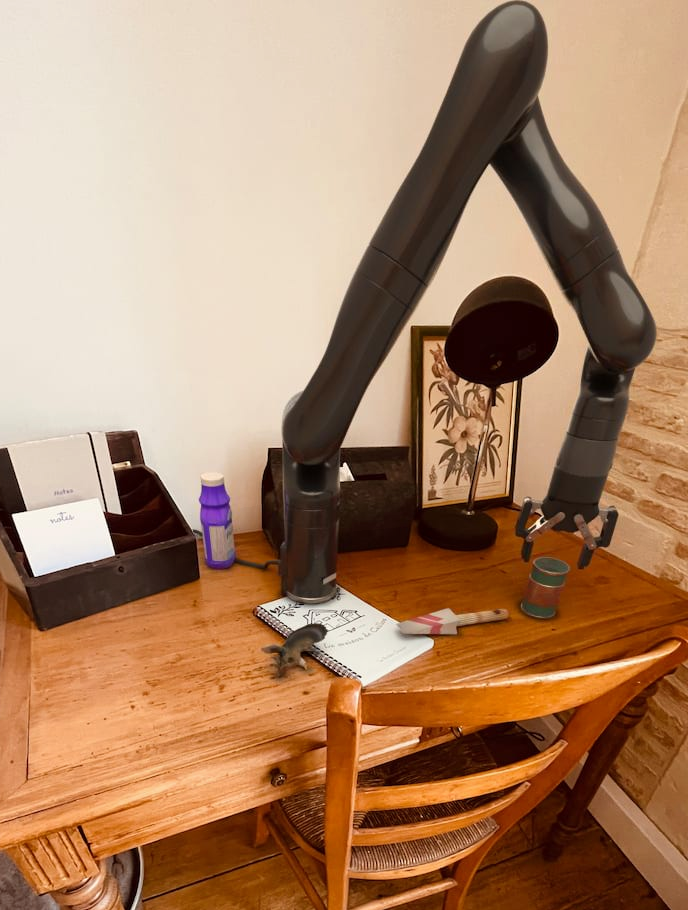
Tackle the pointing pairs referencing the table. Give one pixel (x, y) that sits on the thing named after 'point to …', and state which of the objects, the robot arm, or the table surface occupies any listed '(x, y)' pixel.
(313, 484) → the robot arm
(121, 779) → the table surface
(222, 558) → the bottle
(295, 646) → the bushy tailed squirrel toy
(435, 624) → the paintbrush
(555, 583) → the tin can
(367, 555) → the table surface
